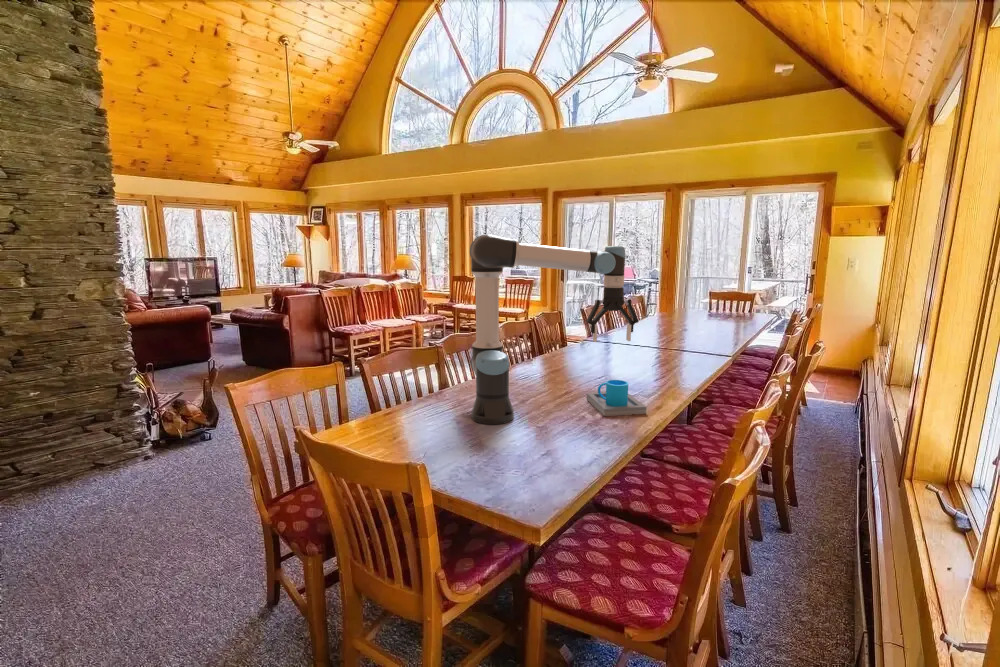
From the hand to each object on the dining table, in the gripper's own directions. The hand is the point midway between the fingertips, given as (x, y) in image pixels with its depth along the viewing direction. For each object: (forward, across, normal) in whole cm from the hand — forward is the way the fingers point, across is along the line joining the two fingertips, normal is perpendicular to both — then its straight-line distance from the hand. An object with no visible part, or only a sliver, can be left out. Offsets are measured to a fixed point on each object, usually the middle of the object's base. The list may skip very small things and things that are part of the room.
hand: (611, 341), depth 194 cm
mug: (+23, -2, -8) cm, 24 cm away
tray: (+24, -1, -8) cm, 25 cm away
